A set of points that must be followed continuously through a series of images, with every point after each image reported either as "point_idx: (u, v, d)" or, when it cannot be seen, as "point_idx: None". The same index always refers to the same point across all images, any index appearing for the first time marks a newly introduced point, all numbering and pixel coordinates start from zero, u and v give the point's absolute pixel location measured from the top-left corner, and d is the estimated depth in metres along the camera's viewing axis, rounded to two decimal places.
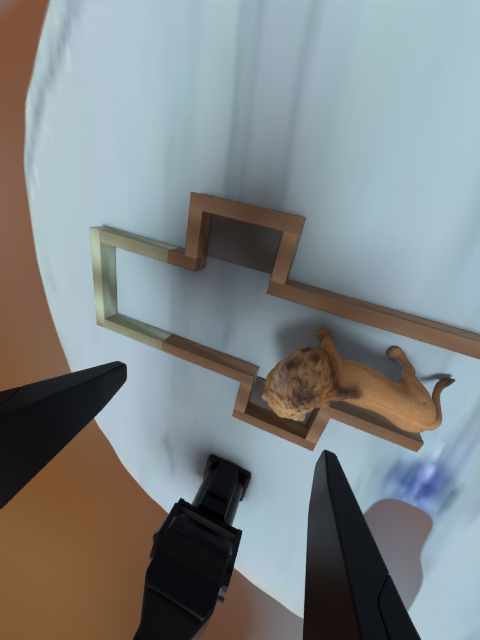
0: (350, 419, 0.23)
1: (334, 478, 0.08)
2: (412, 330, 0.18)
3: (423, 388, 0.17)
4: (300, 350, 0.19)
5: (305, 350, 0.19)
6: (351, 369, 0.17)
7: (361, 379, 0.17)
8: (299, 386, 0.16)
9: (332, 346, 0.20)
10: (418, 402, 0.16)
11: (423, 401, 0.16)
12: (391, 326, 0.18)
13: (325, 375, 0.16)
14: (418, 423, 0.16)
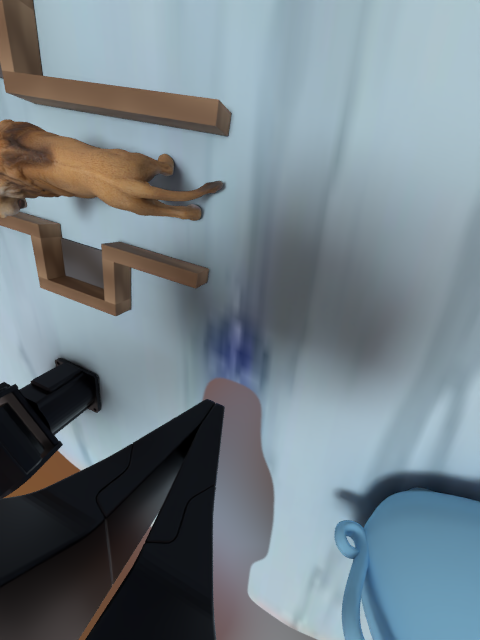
0: (129, 258, 0.20)
1: (209, 422, 0.08)
2: (136, 100, 0.15)
3: (136, 154, 0.14)
4: None
5: None
6: (54, 136, 0.14)
7: (57, 140, 0.14)
8: None
9: None
10: (105, 151, 0.13)
11: (116, 153, 0.13)
12: (117, 101, 0.15)
13: (1, 128, 0.13)
14: (100, 175, 0.12)
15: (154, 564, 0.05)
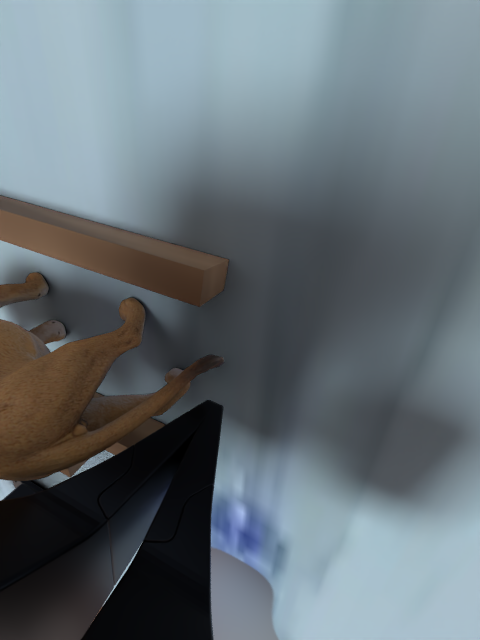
0: None
1: (208, 421, 0.09)
2: (61, 244, 0.08)
3: (58, 372, 0.07)
4: None
5: None
6: None
7: None
8: None
9: None
10: None
11: (5, 404, 0.06)
12: (32, 240, 0.09)
13: None
14: None
15: (152, 562, 0.05)
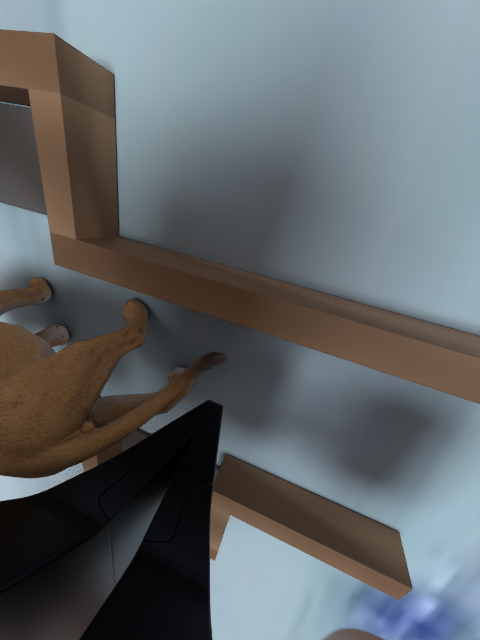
0: (264, 522, 0.11)
1: (207, 421, 0.09)
2: (370, 347, 0.07)
3: (65, 370, 0.07)
4: None
5: None
6: None
7: None
8: None
9: None
10: None
11: (15, 401, 0.06)
12: (317, 336, 0.07)
13: None
14: None
15: (151, 562, 0.05)
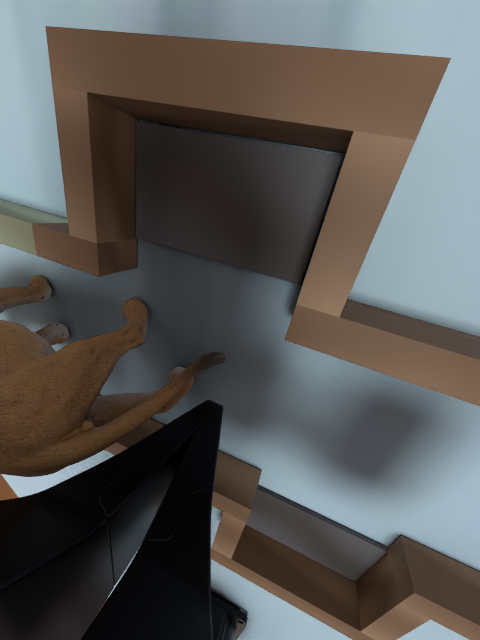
0: None
1: (208, 421, 0.09)
2: None
3: (65, 369, 0.07)
4: None
5: None
6: None
7: None
8: None
9: None
10: None
11: (14, 400, 0.06)
12: None
13: None
14: None
15: (152, 563, 0.05)
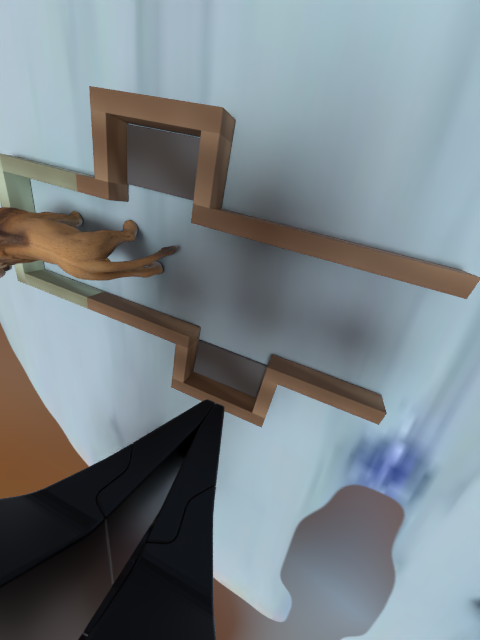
0: (300, 385, 0.19)
1: (209, 422, 0.08)
2: (365, 259, 0.14)
3: (97, 235, 0.16)
4: None
5: None
6: (30, 220, 0.17)
7: (32, 225, 0.16)
8: None
9: (48, 213, 0.19)
10: (69, 238, 0.15)
11: (79, 239, 0.16)
12: (340, 256, 0.14)
13: None
14: (66, 259, 0.15)
15: (154, 564, 0.05)
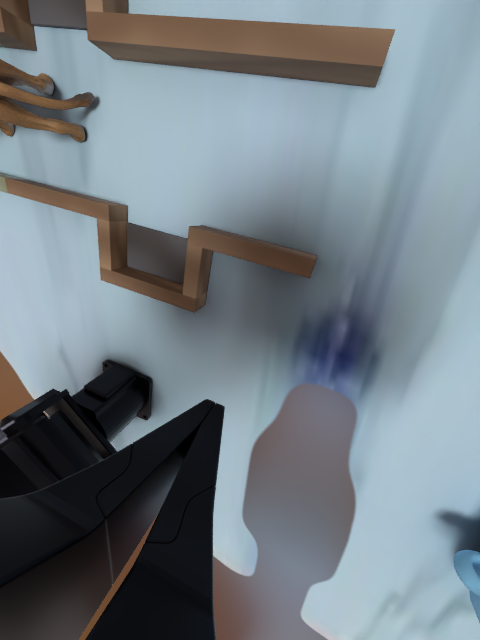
0: (224, 243, 0.16)
1: (209, 422, 0.08)
2: (270, 39, 0.12)
3: None
4: None
5: None
6: None
7: None
8: None
9: None
10: None
11: None
12: (242, 42, 0.12)
13: None
14: None
15: (154, 564, 0.05)
